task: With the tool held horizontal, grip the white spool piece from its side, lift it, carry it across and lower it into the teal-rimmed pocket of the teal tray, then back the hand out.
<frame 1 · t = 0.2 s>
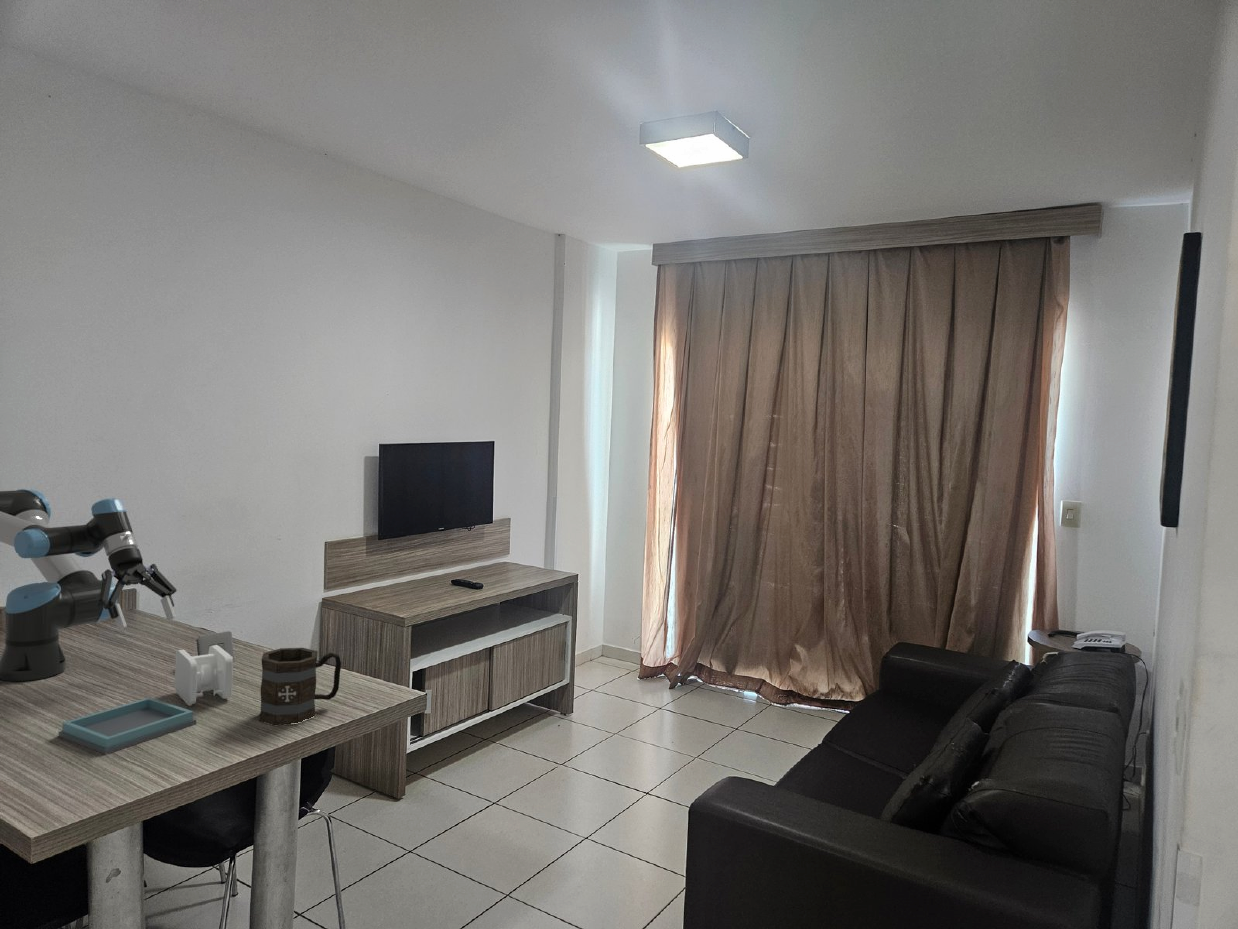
hand: (148, 624, 216), 15 cm above the table, tool tilted 35°, fingers open, 13 cm apart
teal tray: (129, 729, 185), on the table
white spool piece: (203, 697, 208), on the table
electrical switch: (213, 665, 233), on the table
mug: (300, 713, 201), on the table
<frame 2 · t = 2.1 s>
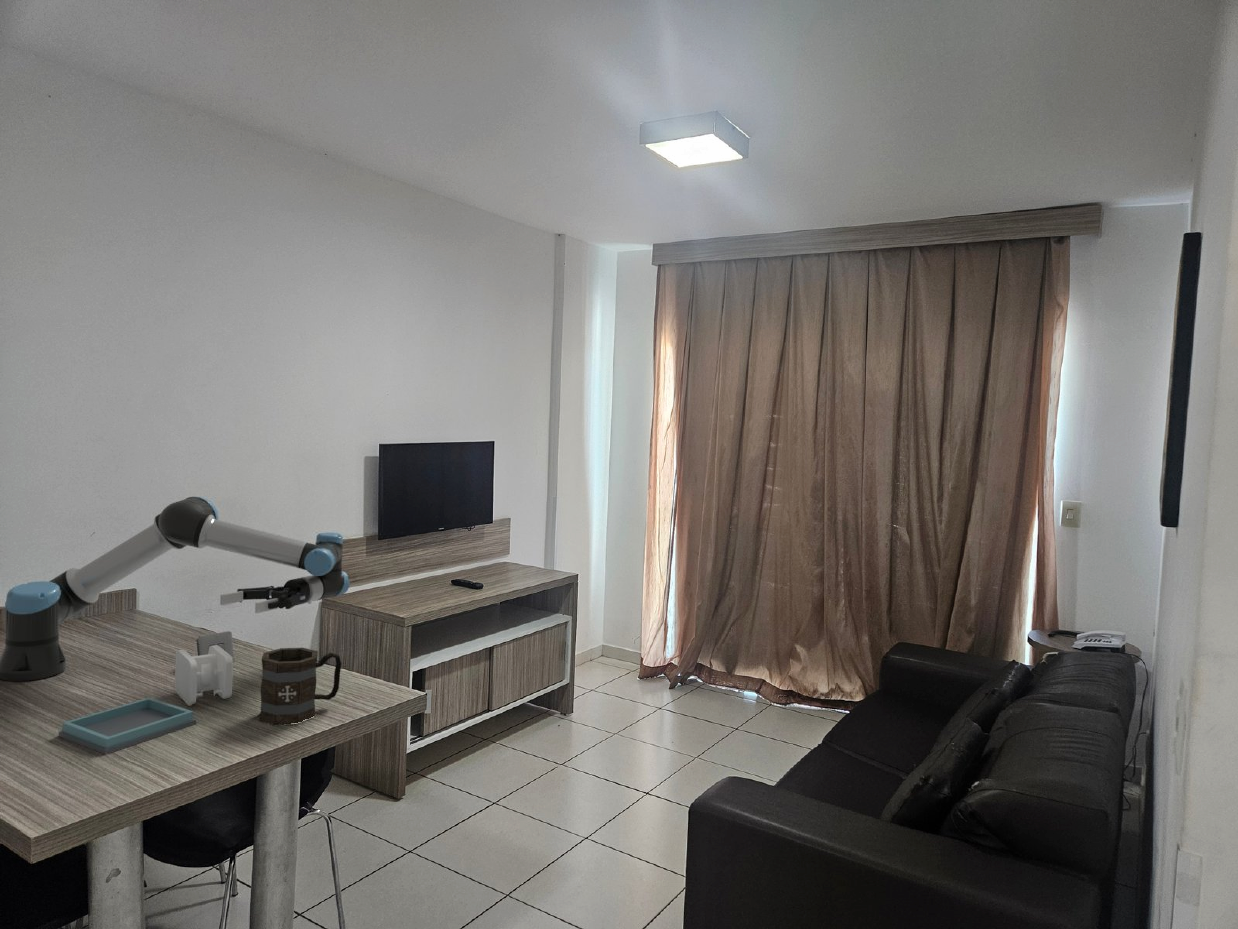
hand: (238, 604, 215), 22 cm above the table, tool horizontal, fingers open, 13 cm apart
nothing on the table moved.
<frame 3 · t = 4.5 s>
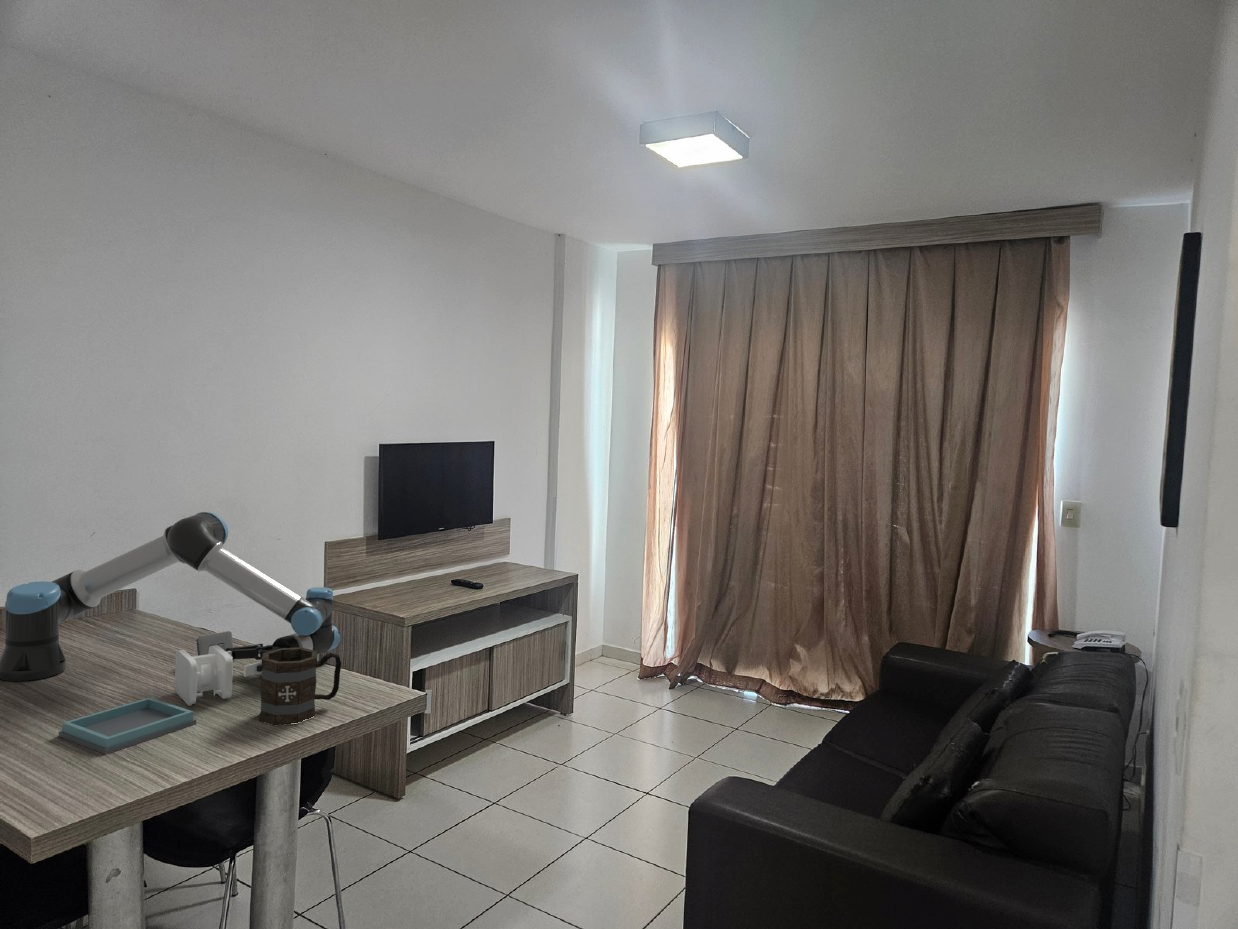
hand: (226, 666, 213), 6 cm above the table, tool horizontal, fingers open, 13 cm apart
nothing on the table moved.
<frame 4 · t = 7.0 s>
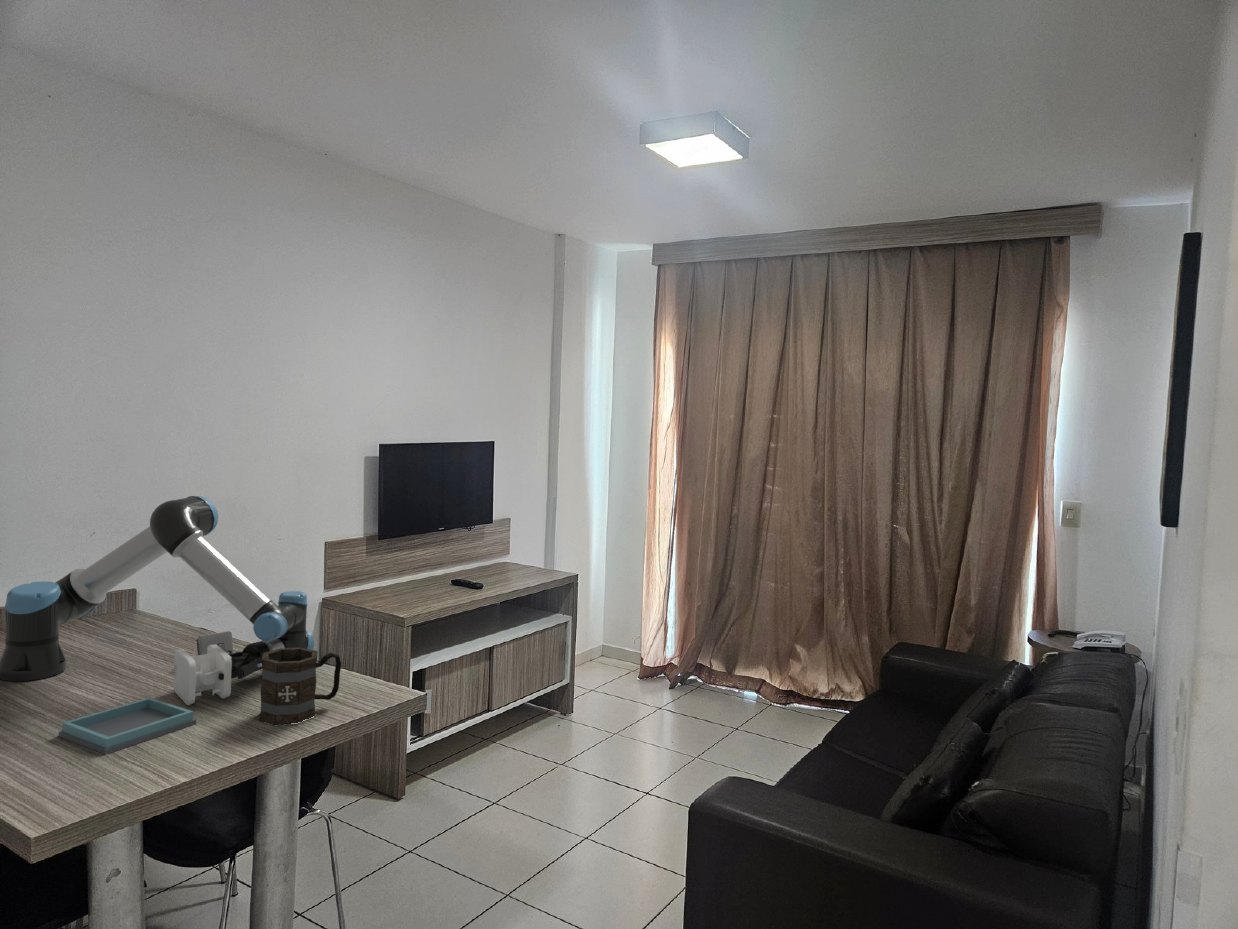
hand: (189, 675, 204), 7 cm above the table, tool horizontal, fingers closed on white spool piece, 11 cm apart
white spool piece: (202, 697, 208), on the table, touching gripper
everything else where it was.
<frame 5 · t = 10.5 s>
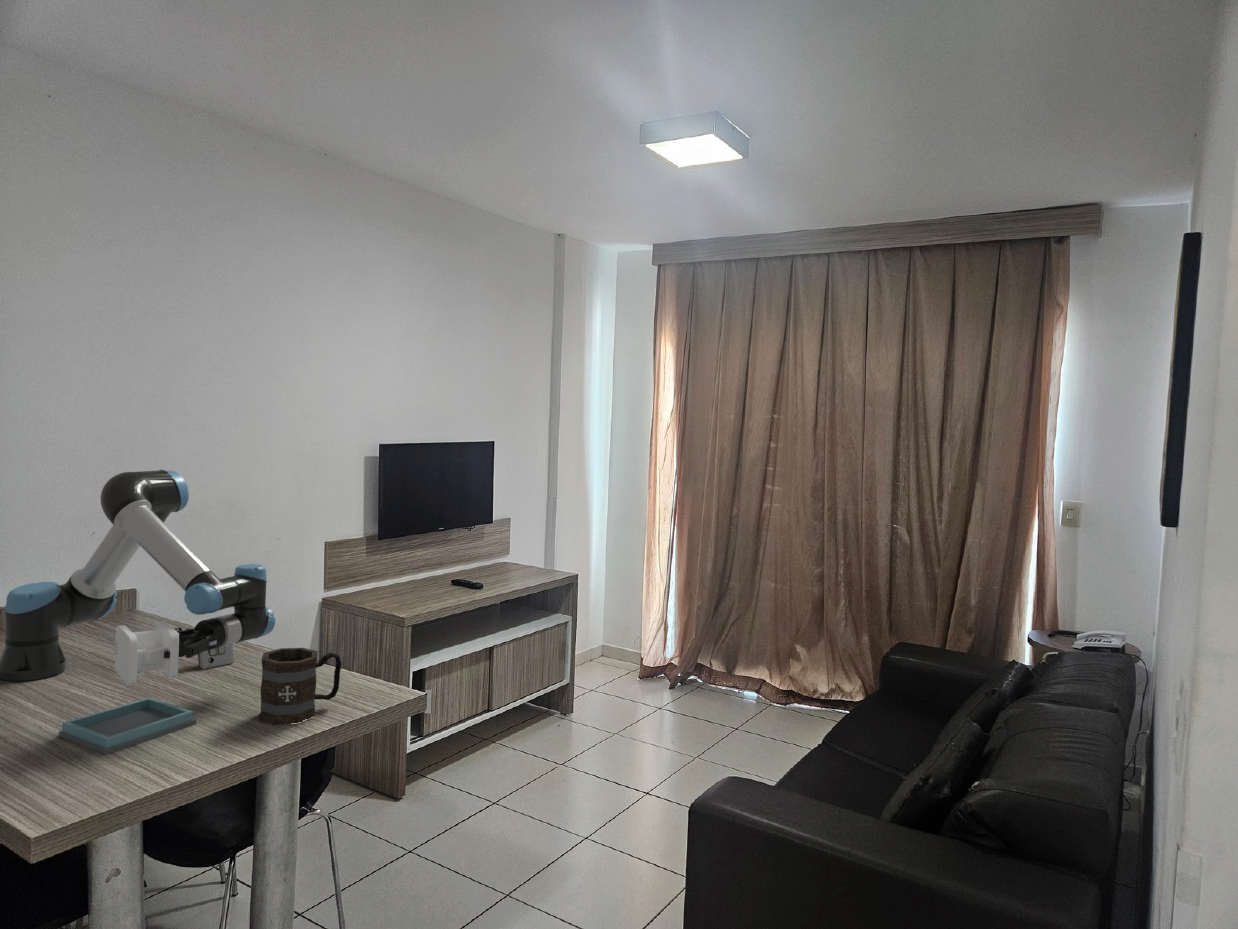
hand: (131, 653, 184), 18 cm above the table, tool horizontal, fingers closed on white spool piece, 11 cm apart
white spool piece: (146, 678, 188), point 11 cm above the table, touching gripper
everything else where it was.
when the fingers open (9 cm above the table, at t = 14.1 s): white spool piece stays where it is, resting on teal tray.
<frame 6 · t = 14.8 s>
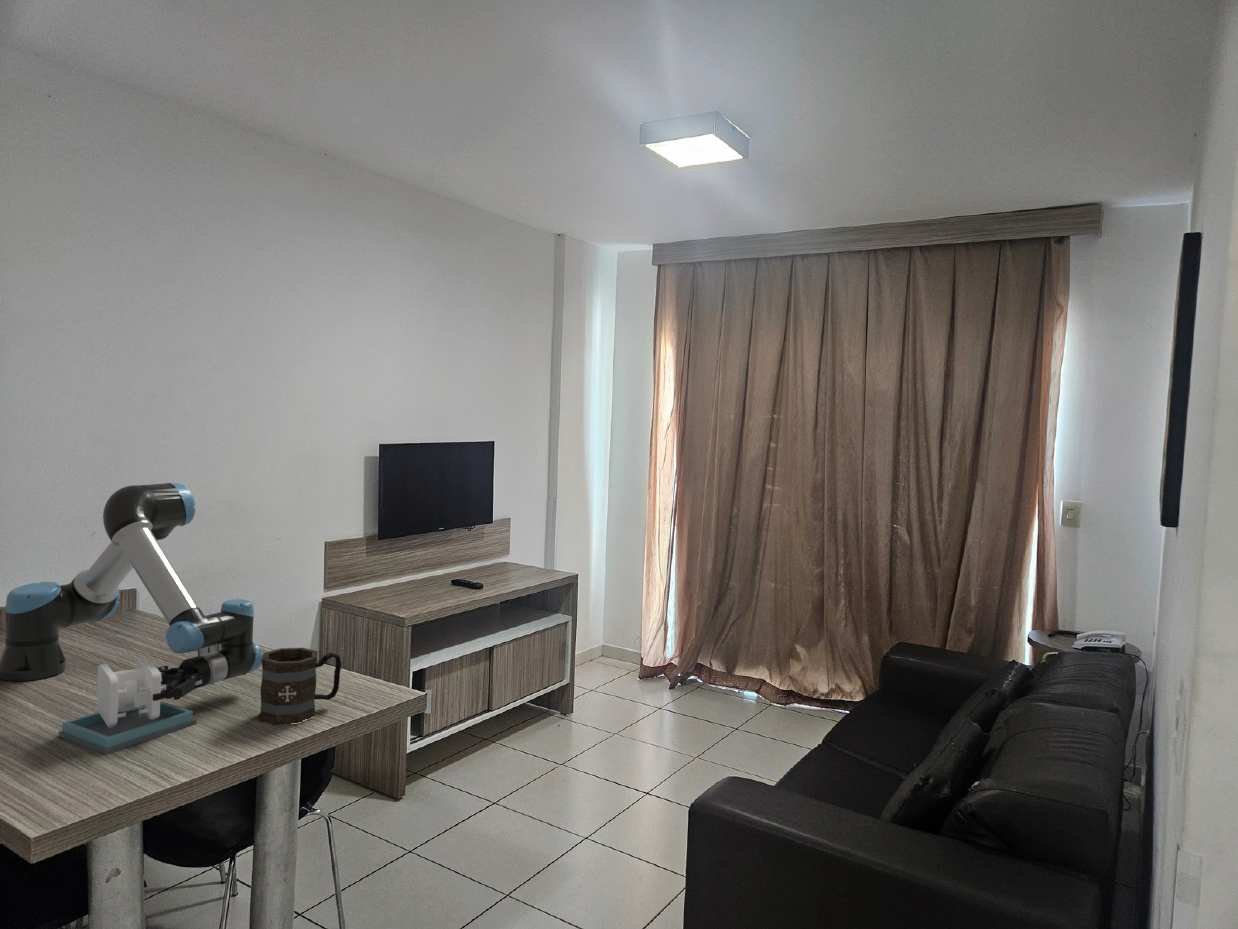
hand: (116, 694, 181), 9 cm above the table, tool horizontal, fingers open, 13 cm apart
white spool piece: (128, 717, 185), point 3 cm above the table, touching teal tray
everything else where it was.
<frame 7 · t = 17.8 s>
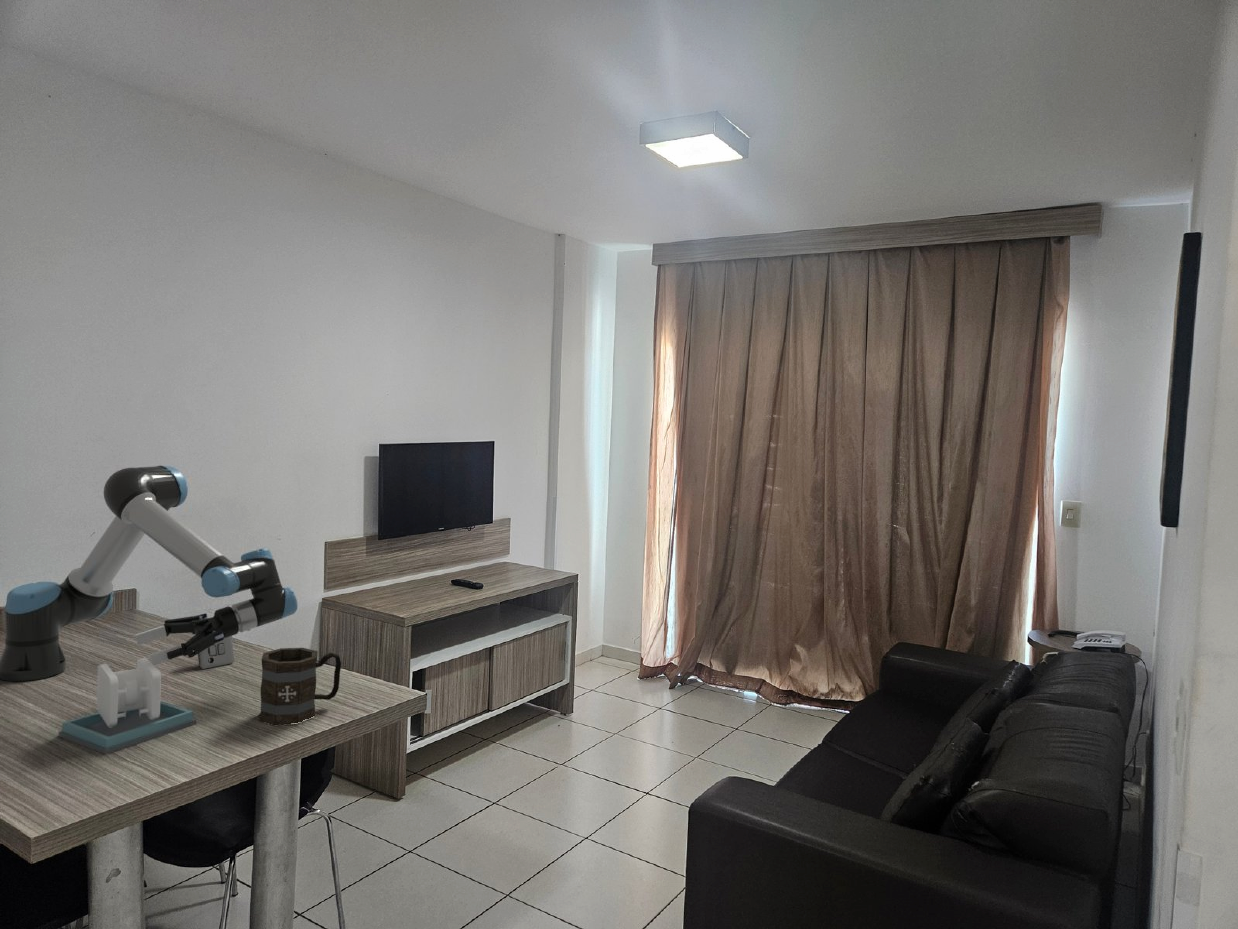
hand: (143, 649, 196), 15 cm above the table, tool horizontal, fingers open, 13 cm apart
white spool piece: (128, 717, 185), point 3 cm above the table, touching teal tray, gripper
everything else where it was.
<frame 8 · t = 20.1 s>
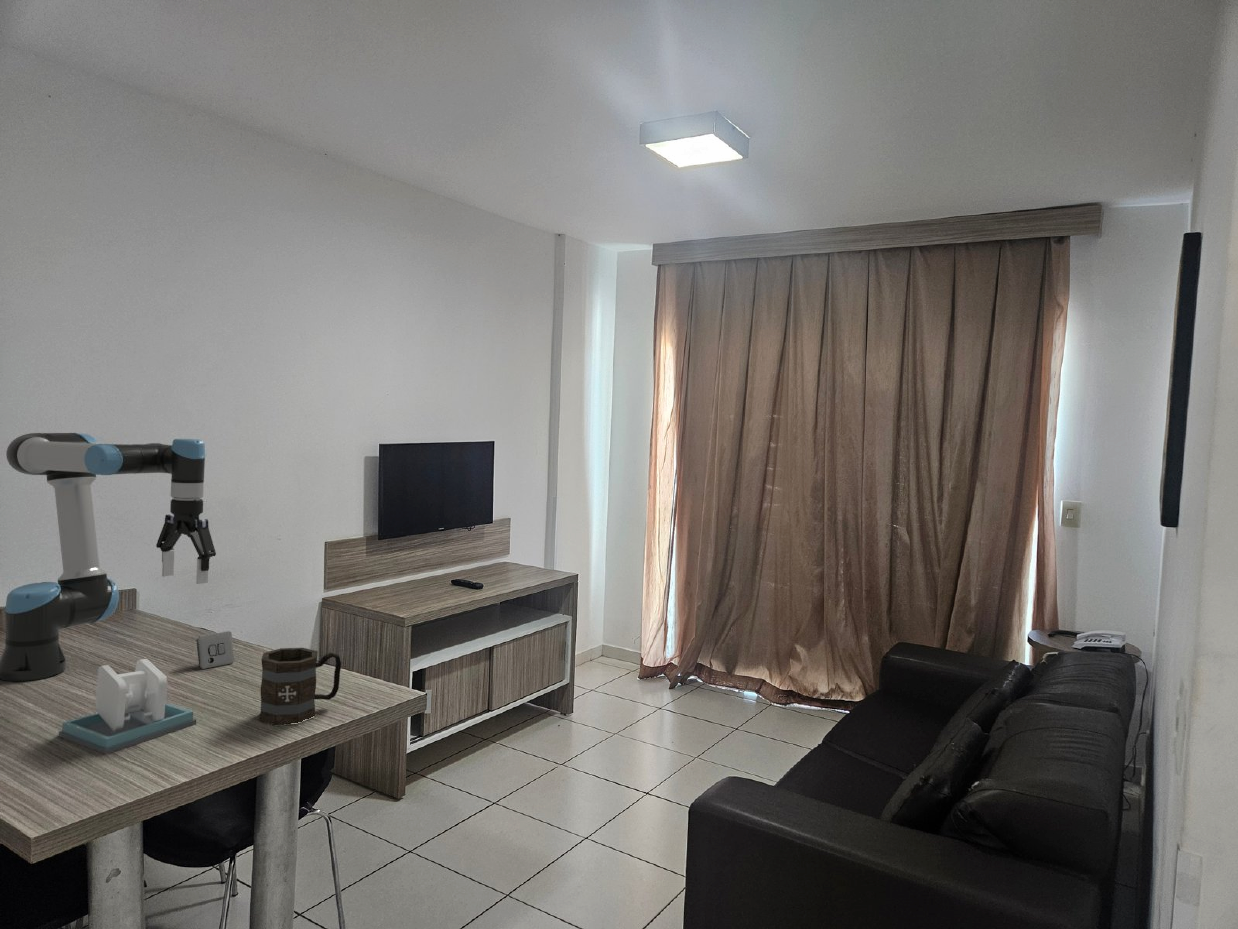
hand: (184, 579, 212), 29 cm above the table, tool pointing down, fingers open, 13 cm apart
white spool piece: (129, 719, 185), point 2 cm above the table, touching teal tray
everything else where it was.
at the end: white spool piece 1.0 cm off-centre on the teal tray, point 2.2 cm above the teal tray's base; white spool piece tilted 6°; the gripper is holding nothing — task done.
